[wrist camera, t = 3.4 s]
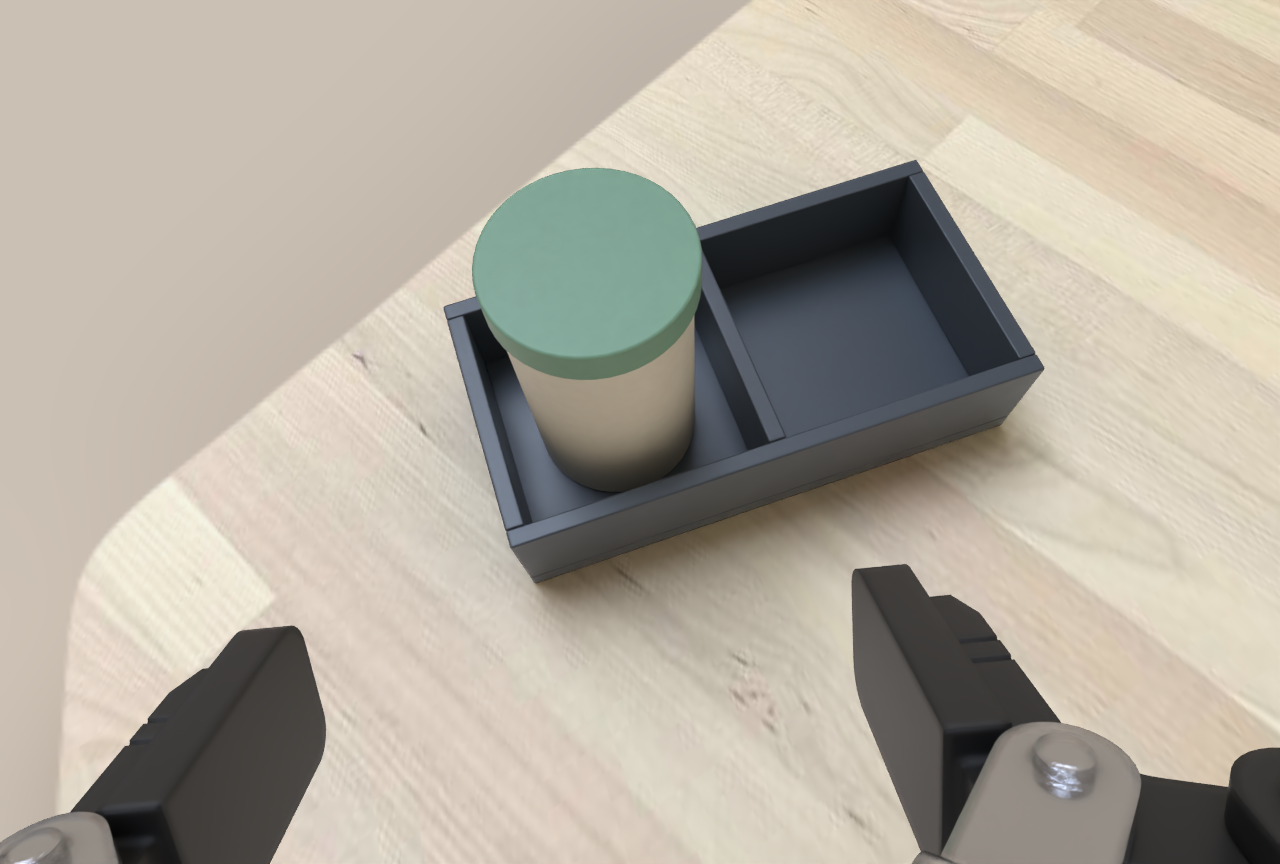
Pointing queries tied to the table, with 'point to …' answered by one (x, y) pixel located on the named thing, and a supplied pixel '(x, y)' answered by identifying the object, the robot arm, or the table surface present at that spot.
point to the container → (597, 319)
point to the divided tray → (778, 370)
